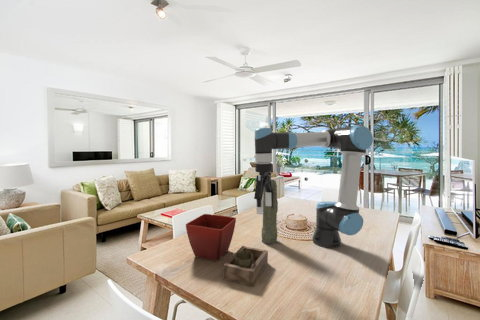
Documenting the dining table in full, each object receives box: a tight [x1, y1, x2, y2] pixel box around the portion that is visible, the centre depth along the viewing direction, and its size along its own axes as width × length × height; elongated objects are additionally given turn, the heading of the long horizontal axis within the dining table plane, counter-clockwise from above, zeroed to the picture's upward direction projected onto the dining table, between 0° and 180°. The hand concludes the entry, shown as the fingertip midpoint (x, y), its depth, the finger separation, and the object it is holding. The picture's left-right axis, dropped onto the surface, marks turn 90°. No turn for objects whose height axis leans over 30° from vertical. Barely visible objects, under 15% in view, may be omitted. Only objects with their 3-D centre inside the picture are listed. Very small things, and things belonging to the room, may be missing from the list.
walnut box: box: [223, 245, 269, 287], centre depth 102 cm, size 13×20×6 cm, turn 157°
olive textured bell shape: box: [234, 251, 253, 268], centre depth 98 cm, size 8×7×8 cm
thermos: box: [261, 179, 279, 245], centre depth 134 cm, size 9×12×35 cm
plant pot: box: [185, 213, 237, 262], centre depth 118 cm, size 19×19×17 cm
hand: (264, 209), depth 107 cm, fingers open, 13 cm apart
